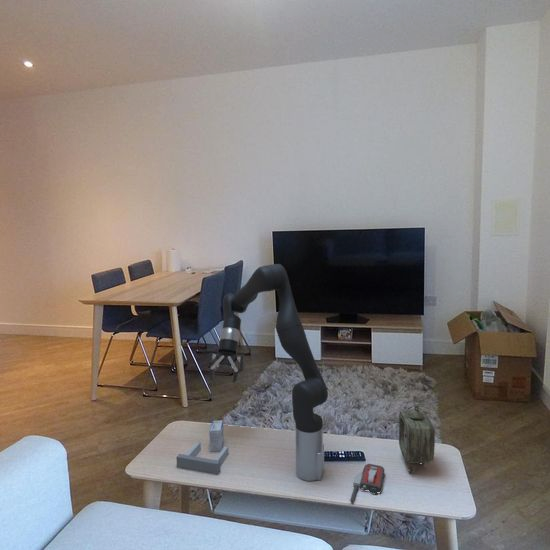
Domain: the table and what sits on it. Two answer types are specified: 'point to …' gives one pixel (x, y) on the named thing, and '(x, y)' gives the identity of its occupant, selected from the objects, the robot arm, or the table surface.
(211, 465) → the dock
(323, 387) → the robot arm
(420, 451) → the olive fabric tall bag
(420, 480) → the table surface
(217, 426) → the medicine box
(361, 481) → the walkie-talkie
